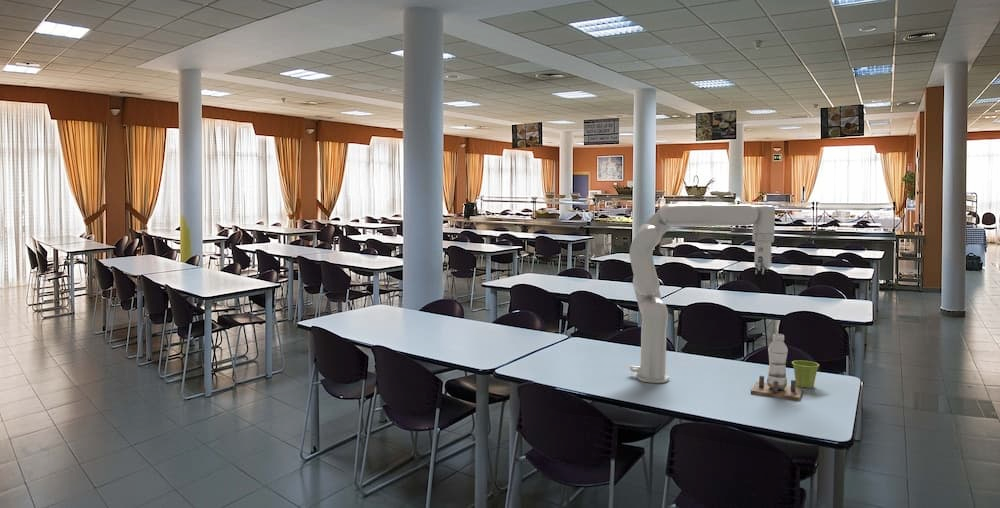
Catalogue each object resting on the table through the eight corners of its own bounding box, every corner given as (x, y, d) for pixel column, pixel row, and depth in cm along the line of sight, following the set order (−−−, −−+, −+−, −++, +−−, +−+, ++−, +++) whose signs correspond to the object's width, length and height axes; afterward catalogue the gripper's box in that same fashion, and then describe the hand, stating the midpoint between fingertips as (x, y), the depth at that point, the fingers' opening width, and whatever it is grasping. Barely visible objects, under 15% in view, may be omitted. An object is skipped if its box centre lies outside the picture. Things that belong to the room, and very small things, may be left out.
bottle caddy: (750, 393, 228) (751, 379, 228) (756, 384, 239) (756, 371, 239) (799, 400, 220) (800, 386, 220) (802, 391, 231) (803, 377, 231)
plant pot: (785, 383, 241) (786, 361, 240) (803, 381, 244) (804, 359, 243) (804, 390, 232) (805, 367, 231) (824, 388, 235) (825, 365, 234)
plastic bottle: (788, 392, 226) (790, 337, 224) (768, 390, 228) (770, 336, 226) (784, 386, 232) (786, 333, 231) (764, 385, 234) (766, 332, 232)
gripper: (770, 239, 228) (769, 286, 230) (776, 237, 243) (774, 281, 245) (748, 238, 232) (747, 285, 233) (755, 236, 247) (754, 280, 248)
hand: (761, 283), depth 239 cm, fingers open, 9 cm apart
